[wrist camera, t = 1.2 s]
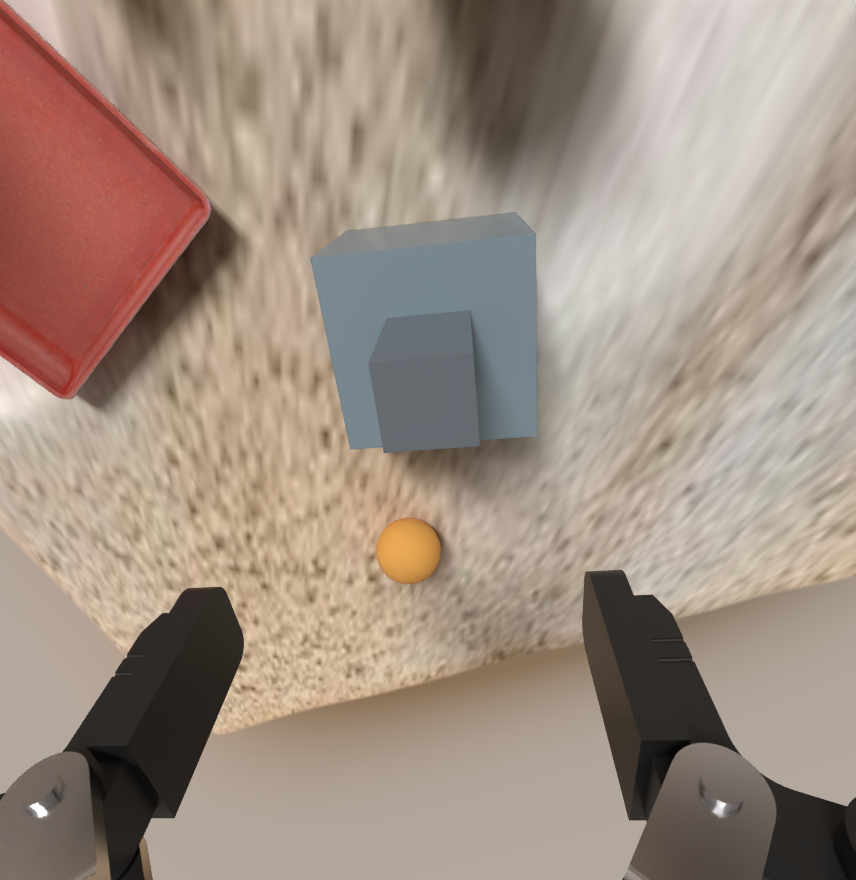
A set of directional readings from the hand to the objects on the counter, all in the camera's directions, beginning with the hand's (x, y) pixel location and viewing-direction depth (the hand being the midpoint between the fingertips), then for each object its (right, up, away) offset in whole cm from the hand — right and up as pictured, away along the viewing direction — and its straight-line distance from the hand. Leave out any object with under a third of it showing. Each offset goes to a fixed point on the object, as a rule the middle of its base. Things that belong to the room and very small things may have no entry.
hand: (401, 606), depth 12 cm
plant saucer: (-23, +19, +20) cm, 36 cm away
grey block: (+1, +12, +22) cm, 25 cm away
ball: (-1, -5, +29) cm, 29 cm away
